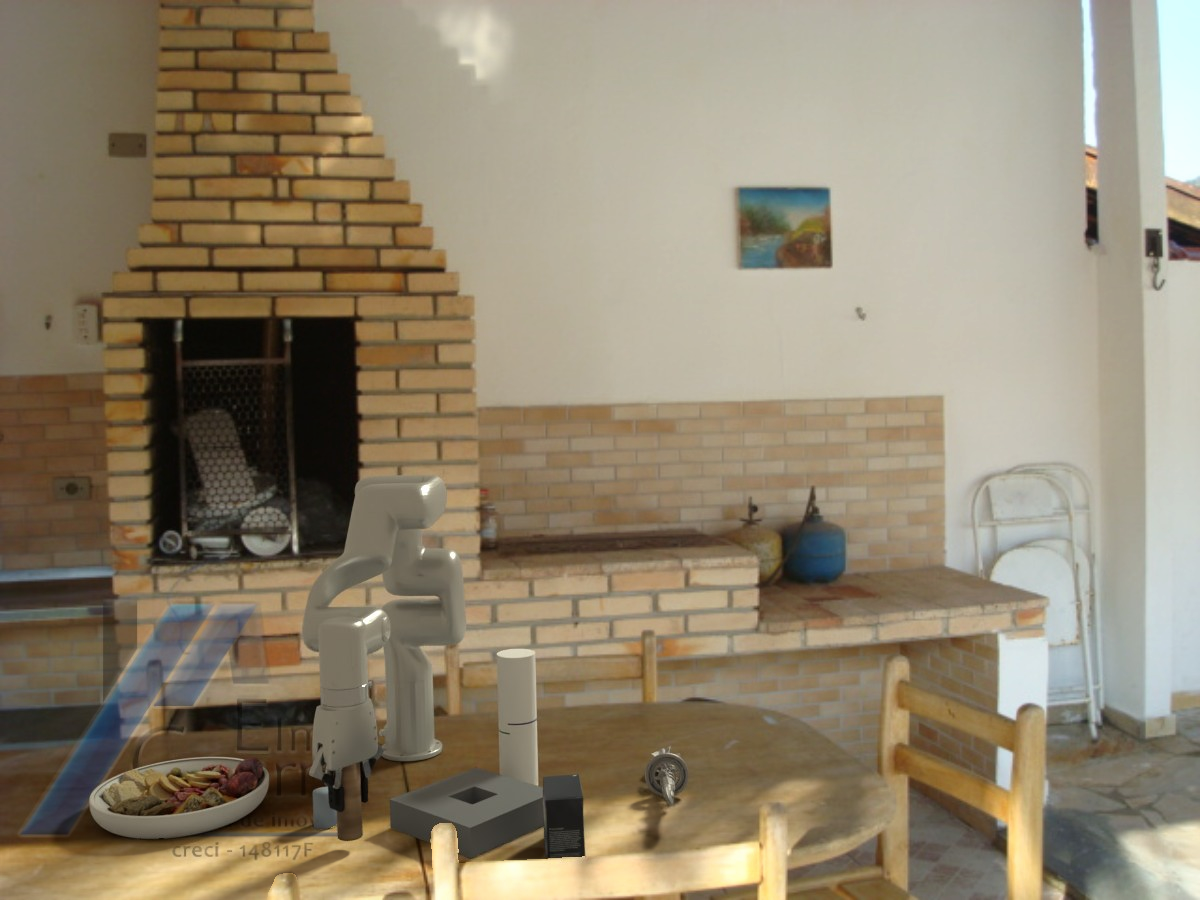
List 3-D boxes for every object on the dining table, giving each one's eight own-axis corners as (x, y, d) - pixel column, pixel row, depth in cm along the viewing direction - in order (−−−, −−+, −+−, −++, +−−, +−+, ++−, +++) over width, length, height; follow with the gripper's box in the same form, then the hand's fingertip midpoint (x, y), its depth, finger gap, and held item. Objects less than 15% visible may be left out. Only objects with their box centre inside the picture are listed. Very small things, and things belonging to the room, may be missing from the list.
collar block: (390, 828, 193) (389, 799, 193) (476, 793, 208) (476, 767, 208) (471, 858, 180) (470, 827, 180) (556, 819, 195) (556, 791, 195)
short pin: (309, 825, 195) (307, 791, 194) (328, 818, 198) (327, 785, 197) (323, 831, 192) (321, 796, 192) (342, 824, 195) (341, 790, 195)
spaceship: (638, 788, 187) (682, 769, 187) (637, 742, 222) (675, 726, 222) (657, 833, 187) (701, 814, 187) (653, 780, 222) (691, 764, 222)
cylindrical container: (532, 793, 208) (529, 658, 206) (495, 791, 209) (491, 657, 208) (542, 779, 215) (539, 649, 213) (506, 777, 216) (502, 648, 215)
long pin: (332, 836, 184) (329, 752, 183) (352, 828, 187) (349, 746, 186) (347, 843, 182) (344, 758, 181) (367, 834, 185) (364, 751, 184)
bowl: (97, 861, 183) (94, 813, 182) (85, 800, 209) (83, 759, 209) (286, 823, 196) (284, 779, 196) (252, 771, 223) (250, 732, 222)
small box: (542, 836, 188) (541, 774, 187) (581, 834, 189) (580, 772, 188) (545, 863, 178) (543, 798, 177) (586, 861, 178) (585, 796, 178)
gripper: (371, 679, 191) (375, 784, 193) (286, 703, 179) (291, 816, 180) (400, 686, 187) (404, 795, 188) (314, 712, 174) (319, 827, 175)
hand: (348, 804), depth 184 cm, fingers closed on long pin, 4 cm apart
